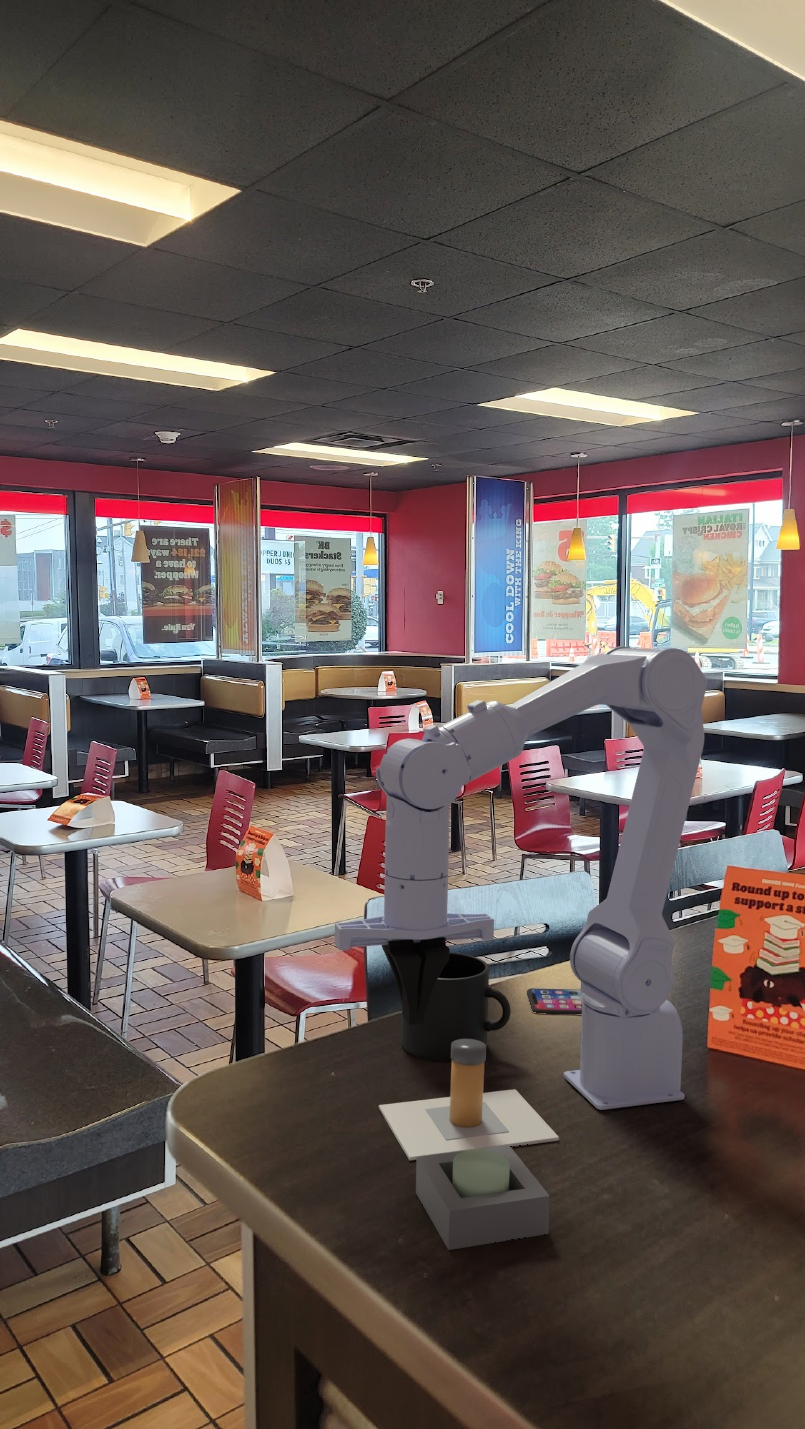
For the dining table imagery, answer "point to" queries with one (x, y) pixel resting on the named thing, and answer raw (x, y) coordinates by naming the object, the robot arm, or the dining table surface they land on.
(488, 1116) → the paper
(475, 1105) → the bottle
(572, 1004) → the smartphone
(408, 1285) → the dining table surface
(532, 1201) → the button housing
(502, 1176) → the button
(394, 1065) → the dining table surface
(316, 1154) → the dining table surface
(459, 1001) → the mug
